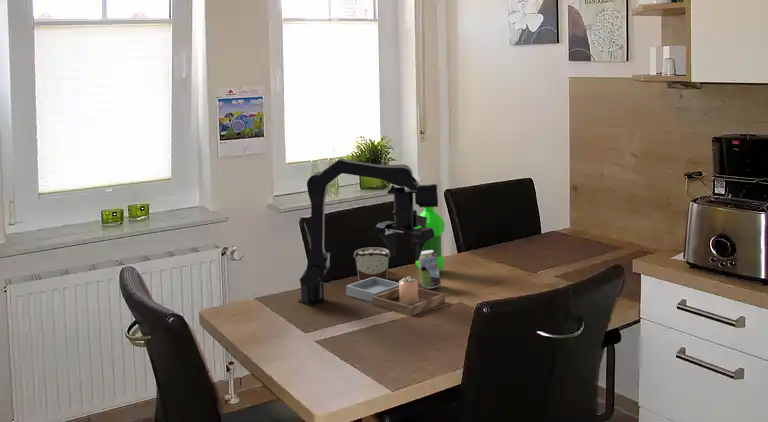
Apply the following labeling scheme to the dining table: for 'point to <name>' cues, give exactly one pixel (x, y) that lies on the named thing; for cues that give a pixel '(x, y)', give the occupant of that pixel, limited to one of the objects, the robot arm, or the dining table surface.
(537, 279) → the dining table surface
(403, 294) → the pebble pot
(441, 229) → the plastic bottle
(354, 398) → the dining table surface
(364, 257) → the food container
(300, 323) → the dining table surface
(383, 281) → the tray
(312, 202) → the robot arm
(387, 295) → the brown wooden tray
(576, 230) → the dining table surface
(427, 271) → the beverage can
